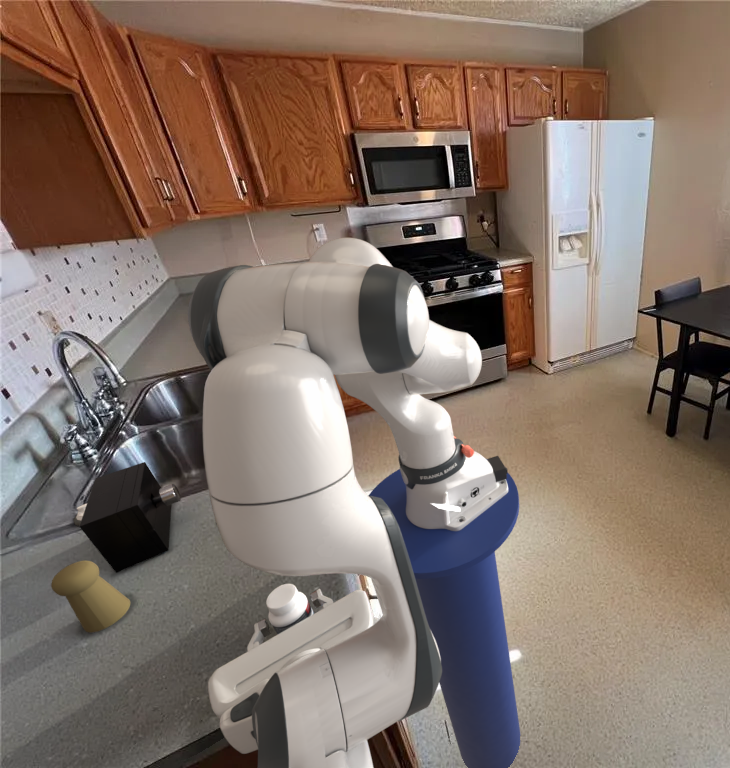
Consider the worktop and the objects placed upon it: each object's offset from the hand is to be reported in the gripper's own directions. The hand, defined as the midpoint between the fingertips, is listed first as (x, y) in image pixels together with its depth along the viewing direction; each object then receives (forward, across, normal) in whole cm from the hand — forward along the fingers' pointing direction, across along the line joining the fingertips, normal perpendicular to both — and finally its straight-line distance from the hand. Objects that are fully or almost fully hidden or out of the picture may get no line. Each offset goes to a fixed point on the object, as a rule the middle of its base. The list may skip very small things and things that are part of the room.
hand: (289, 608), depth 62 cm
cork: (+23, +26, +5) cm, 35 cm away
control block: (+41, +22, +5) cm, 47 cm away
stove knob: (+57, +32, +5) cm, 66 cm away
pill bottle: (-1, 0, +5) cm, 5 cm away
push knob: (+41, +17, 0) cm, 44 cm away
